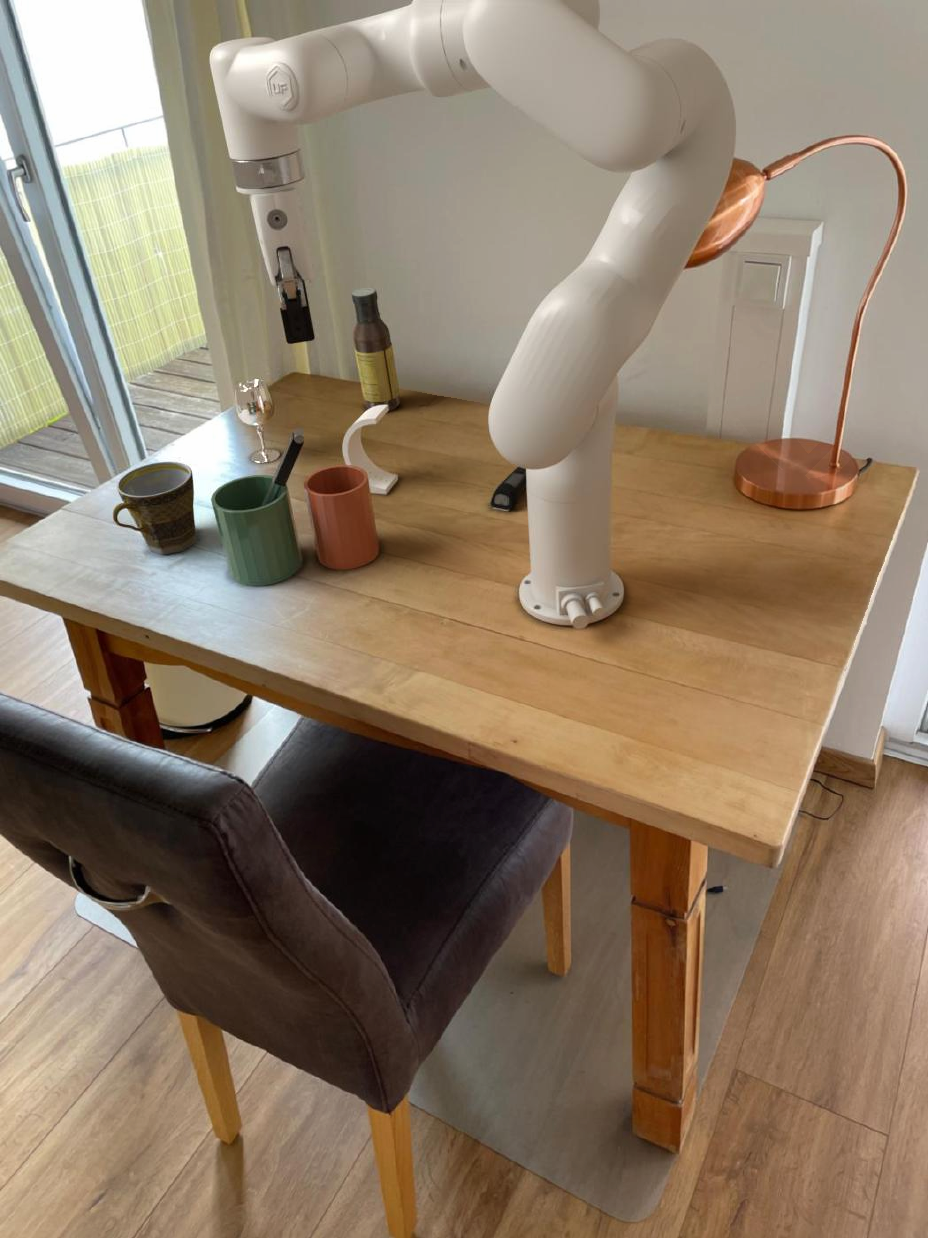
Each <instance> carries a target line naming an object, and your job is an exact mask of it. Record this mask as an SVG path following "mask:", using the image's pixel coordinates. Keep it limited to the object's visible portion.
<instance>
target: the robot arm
mask: <svg viewBox="0 0 928 1238" xmlns="http://www.w3.org/2000/svg"><path fill="white" fill-rule="evenodd" d="M600 19H601V6H600V0H412V1H411V3H410V4H408V5H405V6H402V7H399V8H395V9H392V10H389V11H384V12H381V13H379V14H375V15H371V16H366V17H363V18H358V19H356V20H352V21H348V22H344V23H340V24H336V25H332V26H327V27H322V28H319V29H314V30H311V31H306V32H303V33H301V34H298V35H294V36H291V37H286V38H283V39H280V40H279V39H278V40H276V39H274V38H271V37H267V36H265V37H264V36H255V37H254V36H253V37H252V36H251V37H245V38H237V39H231V40H226V41H223V42H220V43H218V44H216V45H215V46H213V47H212V49H211V51H210V53H209V66H210V72H211V76H212V81H213V86H214V91H215V95H216V100H217V105H218V110H219V114H220V118H221V123H222V129H223V133H224V137H225V142H226V146H227V147H226V148H227V151H228V155H229V161H230V166H231V171H232V175H233V180H234V184H235V185H234V186H235V188H236V192H237V193H240V194H242V195H248V196H249V201H250V206H251V210H252V214H253V215H252V216H253V219H254V224H255V229H256V233H257V238H258V241H259V246H260V250H261V253H262V257H263V260H264V265H265V267H266V270H267V274H268V277H269V280H270V284H271V286H272V287H275V288H277V289H278V290H277V291H278V295H279V300H280V301H279V302H280V306H281V307H280V308H279V311H280V316H281V322H282V326H283V332H284V336H285V341H286V343H287V344H289V345H294V344H301V343H306V342H307V343H308V342H312V341H314V340H315V338H316V337H315V336H316V335H315V331H314V325H313V321H312V320H313V319H312V314H311V310H310V303H309V299H308V292H307V287H306V282H305V281H309V284H311V283H313V282H314V280H315V272H314V267H313V261H312V260H313V259H312V255H311V249H310V243H309V238H308V231H307V225H306V219H305V214H304V210H303V205H302V200H301V196H300V192H299V188H298V187H300V186H303V185H304V184H306V182H307V179H306V172H305V167H304V162H303V156H302V149H301V145H300V139H299V134H298V129H297V126H298V125H299V126H300V125H308V124H313V123H316V122H319V121H321V120H324V119H326V118H329V117H331V116H333V115H335V114H338V113H342V112H343V111H346V110H349V109H352V108H355V107H356V108H357V107H358V106H362V105H365V104H367V103H372V102H376V101H380V100H384V99H389V98H393V97H397V96H400V95H401V96H402V95H406V94H410V93H416V92H422V91H423V92H425V91H426V92H428V94H430V95H432V96H433V97H436V98H450V97H454V96H457V95H461V94H466V93H471V92H475V91H479V90H484V89H489V88H492V89H493V90H494V91H496V93H498V94H499V95H500V96H501V97H503V98H504V100H506V101H507V102H508V103H510V104H511V105H513V107H515V108H516V109H517V110H518V111H520V112H521V113H522V114H523V115H525V116H526V117H528V118H529V119H530V120H531V121H533V122H534V123H536V124H537V125H538V126H539V127H540V128H542V129H543V130H545V131H546V132H548V133H549V134H550V135H551V136H553V137H554V138H556V139H557V140H558V141H560V143H562V144H563V145H565V146H566V147H567V148H569V149H570V150H572V151H573V152H574V153H575V154H576V155H578V156H580V157H581V158H582V159H583V160H585V161H587V162H588V163H590V164H592V165H593V166H594V167H595V166H596V167H598V168H599V169H603V170H605V171H608V172H613V173H619V174H624V173H625V174H626V173H631V174H630V176H629V178H628V179H627V181H626V183H625V184H624V186H623V188H622V189H621V191H620V193H619V194H618V196H617V198H616V200H615V201H614V203H613V205H612V207H611V208H610V212H609V214H608V217H607V219H606V221H605V223H604V225H603V227H602V229H601V231H600V233H599V235H598V236H597V238H596V240H595V241H594V244H593V245H592V247H591V249H590V250H589V252H588V254H587V255H586V257H585V259H584V260H583V261H582V262H581V264H580V265H579V266H578V267H576V268H575V269H574V270H573V271H572V272H571V273H570V274H569V275H568V276H567V277H565V278H564V279H563V280H562V281H561V282H559V283H558V284H557V285H556V286H555V287H553V289H552V290H551V291H550V292H548V294H547V295H546V296H545V297H544V298H543V300H542V301H541V302H540V303H539V305H538V306H537V308H536V309H535V311H534V313H533V314H532V315H531V318H530V319H529V321H528V323H527V325H526V327H525V329H524V331H523V333H522V335H521V337H520V339H519V341H518V344H517V345H516V347H515V350H514V351H513V354H512V356H511V358H510V359H509V360H510V361H509V362H508V365H507V366H506V368H505V371H504V372H503V375H502V376H501V378H500V381H499V383H498V385H497V386H496V389H495V392H494V394H493V395H492V398H491V402H490V405H489V408H488V409H489V410H488V414H487V415H488V417H487V421H488V422H487V423H488V432H489V434H490V438H491V441H492V443H493V445H494V447H495V449H496V450H497V452H498V453H499V454H500V455H501V457H503V459H505V460H506V461H507V462H508V463H510V464H511V465H513V466H515V467H521V468H525V469H526V480H527V484H526V486H527V487H526V502H527V503H526V504H527V520H528V521H527V523H528V541H529V542H528V543H529V563H530V572H529V573H528V574H526V576H525V577H524V578H523V579H522V580H521V582H520V585H519V588H518V592H519V593H518V596H519V602H520V604H521V606H522V608H523V609H524V611H526V613H528V614H529V615H530V616H532V617H534V618H535V619H537V620H540V621H542V622H544V623H548V624H552V625H557V626H571V627H573V628H574V629H577V630H582V629H584V628H586V627H587V626H588V624H592V623H595V622H598V621H601V620H603V619H605V618H607V617H610V616H611V615H612V614H614V613H615V612H616V611H617V610H618V609H619V608H620V607H621V605H622V603H623V601H624V597H625V587H624V586H625V585H624V583H623V580H622V579H621V577H620V575H618V574H617V573H616V572H615V571H614V570H612V484H613V483H612V482H613V481H612V480H613V479H612V478H613V447H614V435H615V426H616V419H617V411H618V404H619V402H618V401H619V378H618V373H619V372H620V371H621V369H622V368H623V366H624V365H625V363H626V362H627V361H628V360H629V359H630V358H631V356H633V355H634V353H635V352H636V351H637V350H638V349H639V347H640V346H641V345H642V343H643V342H645V340H646V339H647V337H648V336H649V333H651V330H652V329H653V326H654V325H655V323H656V320H657V318H658V316H659V313H660V312H661V310H662V308H663V307H664V304H665V302H666V300H667V298H668V297H669V295H670V293H671V291H672V290H673V288H674V286H675V284H676V283H677V282H678V279H679V277H680V276H681V274H682V273H683V270H684V269H685V268H686V265H687V264H688V261H689V259H690V257H691V256H692V253H693V251H694V250H695V248H696V246H697V244H698V242H699V240H700V239H701V237H702V235H703V233H704V232H705V230H706V228H707V226H708V225H709V223H710V221H711V219H712V218H713V216H714V213H715V211H716V209H717V207H718V205H719V202H720V200H721V198H722V196H723V194H724V191H725V188H726V185H727V182H728V181H729V180H728V179H729V177H730V173H731V170H732V166H733V161H734V157H735V152H736V151H735V149H736V141H737V120H736V111H735V106H734V101H733V97H732V95H731V91H730V88H729V86H728V84H727V81H726V79H725V77H724V75H723V73H722V70H720V68H719V66H718V65H717V64H716V62H715V60H714V59H713V58H712V57H711V55H709V54H708V53H707V52H706V51H705V50H704V49H703V48H701V47H700V46H699V45H697V44H696V43H694V42H691V41H688V40H686V39H682V38H671V37H670V38H661V39H655V40H652V41H650V42H647V43H644V44H642V45H640V46H637V47H635V48H634V49H631V50H629V51H627V50H625V49H624V48H622V47H621V46H620V45H618V43H616V42H614V41H613V40H612V39H610V38H609V37H608V36H606V35H605V34H604V33H603V32H601V31H600V30H599V27H600Z"/></svg>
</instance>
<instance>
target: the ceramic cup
mask: <svg viewBox="0 0 928 1238" xmlns="http://www.w3.org/2000/svg"><path fill="white" fill-rule="evenodd" d="M116 489H117V492H118V495H119V496H120V499H121V501H122V502H121V503H118V504H117V505H116V506H114V508H113V511H112V519H113V523H115V524H116V525H117V526H119V527H121V528H126V529H131V530H133V531H136V532H140V533H141V535H142V537H143V540H144V541H145V544H146V545H147V547H148V549H149V551H150V552H151V553H154V554H159V555H161V556H166V555H170V554H175V553H180V552H181V553H182V552H183V551H186V549H188V548H189V547H191V546H192V545H193V544H195V543H196V541H197V533H196V532H197V531H196V521H195V512H194V511H195V508H194V501H195V500H194V499H195V486H194V475H193V470H192V468H191V467H190V466H189V465H187V464H185V463H182V462H177V461H160V462H158V461H157V462H153V463H148V464H145V465H142V466H139V467H136V468H134V469H132V470H130V471H128V472H126V473H125V474H124V475H123V476H122V477H120V479H119V480H118V481H117V484H116ZM125 509H127V511H128V513H129V515H130V517H131V518H132V520H133V521H134V523H135V525H136V526H134V525H132V524H125V523H122V522H120V521H119V519H118V517H119V516H118V515H119V514H120V512H121V511H122V510H125Z"/></svg>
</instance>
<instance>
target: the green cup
mask: <svg viewBox="0 0 928 1238" xmlns="http://www.w3.org/2000/svg"><path fill="white" fill-rule="evenodd" d="M273 477H274V475H269V474H253V475H248V476H242V477H238V478H235V479H232V480H230V481H227V482H225V483H224V484H222V485H220V486H219V487H218V488H217V489H216V490H215V491H214V492H213V493H212V495H211V498H210V501H211V506H212V509H213V513H214V517H215V521H216V525H217V528H218V532H219V537H220V541H221V543H222V547H223V551H224V555H225V558H226V563H227V567H228V570H229V574H230V576H231V578H232V579H233V580H234V581H235V582H236V583H238V584H241V585H244V586H249V587H263V586H269V585H274V584H277V583H281V582H283V581H285V580H287V579H290V578H291V577H292V576H294V575H295V574H296V573H297V572H298V571H299V570H300V569H301V567H302V564H303V553H302V550H301V543H300V540H299V536H298V531H297V526H296V520H295V516H294V512H293V507H292V502H291V496H290V492H289V486H288V485H287V484H286V485H285V487H284V489H283V492H282V494H281V495H280V496H279V498H277V499H276V500H275V501H273V499H274V496H275V494H276V492H277V489H278V487H279V485H278V484H276V487H275V489H274V491H273V494H272V496H271V498H270V501H269V503H268V504H267V505H265V506H262V503H263V501H264V499H265V496H266V494H267V492H268V489H269V487H270V485H271V482H272V480H273ZM272 501H273V502H272ZM261 506H262V507H261Z"/></svg>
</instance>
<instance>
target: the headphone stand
mask: <svg viewBox="0 0 928 1238" xmlns="http://www.w3.org/2000/svg"><path fill="white" fill-rule="evenodd" d="M388 410H389V409H388V405H378V406H375V407H372V408H370V409H367V410H365V412H363V413H362V414H361V415H360V416H359V418H357V420H355V422H354V423H352V425H351V426H349V428H348V429H347V430H346V431H345V434H344V437H343V439H342V449H341V450H342V456H343V460H344V463H345V465H351V466H357V467H359V468H361V469H363V470H364V471H365V472H366V473H367V474H368V480H369V487H370V493H371V494H379V495H387V494H388V493H389V492H390V491H391V489H392V488H393V487H394V486H395V484H396V483H398V482H397V481H398V480H399V476H398V474H396V473H391V472H388V471H387V470H384V469H382V468H380V467H379V466H378V465H376V464H375V462H373V461H372V460H371V459H370V458H369V456H368V455H367V453H366V451H365V449H364V446H363V444H362V435H361V434H362V429H363V427H365V426H368V425H377V424H378V423H379V422H380V420H381V419H382V418H383V417H384V416H385V415H386V414H387V413H388V412H389V411H388Z"/></svg>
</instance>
